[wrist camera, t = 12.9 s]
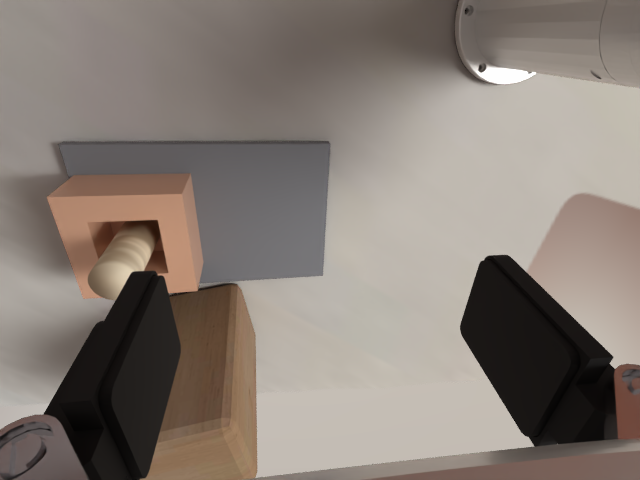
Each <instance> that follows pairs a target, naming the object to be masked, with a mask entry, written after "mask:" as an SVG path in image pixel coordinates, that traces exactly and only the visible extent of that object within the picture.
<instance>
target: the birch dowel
mask: <svg viewBox="0 0 640 480" xmlns="http://www.w3.org/2000/svg"><path fill="white" fill-rule="evenodd" d="M160 235H161V233H160V229H159V224H158V220H138V221H125V223H124V224H123V225H122V227H121V228H120V230H119V231H118V233H117V234H116V235H115V237H114V238H113V240H112V241H111V243H110V244H109V245H108V247H107V248H106V250H105V251H104V253H103V254H102V256H101V257H100V258H99V260H98V261H97V263H96V264H95V266H94V267H93V268H92V270H91V271H90V273H89V275H88V284H89V287H90V288H91V289H92V291H93V292H94V293H96V294H97V295H99V296H100V297H103V298H105V299H110V300H116V299H117V297H118V296H119V294H120V292H121V290H122V288H123V287H124V285H125V283H126V281H127V279H128V278H129V276H130V274H131V273H132V272H134V271H144V270H145V267H146V265H147V263H148V261H149V259H150V257H151V255H152V253H153V250H154V248H155V246H156V244H157V242H158V240H159V238H160Z"/></svg>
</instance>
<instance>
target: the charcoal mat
mask: <svg viewBox="0 0 640 480" xmlns="http://www.w3.org/2000/svg"><path fill="white" fill-rule="evenodd" d="M59 148H60V151H61V154H62V157H63V161H64V164H65V167H66V170H67V173H68V176H69V179H70V178H71V177H72V176H73V175H116V174H183V173H191V179H192V186H193V193H194V200H195V207H196V214H197V221H198V228H199V235H200V242H201V249H202V256H203V267H202V272H201V277H200V282H199V283H214V282H230V281H245V280H261V279H277V278H293V277H309V276H323V264H324V246H325V228H326V210H327V192H328V174H329V156H330V143H329V142H62V143H60V144H59Z"/></svg>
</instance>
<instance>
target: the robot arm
mask: <svg viewBox="0 0 640 480" xmlns="http://www.w3.org/2000/svg"><path fill="white" fill-rule="evenodd" d="M465 9H466V13H465ZM455 39H456V45H457V49H458V53H459V56H460V58H461V60H462V62H463V64H464V65H465V67H466V68H467V69H468V70H469V71H470V73H472V74H473V75H474V76H476V77H477V78H478V79H480V80H483V81H485V82H488V83H493V84H498V85H508V84H513V83H518V82H521V81H523V80H526V79H528V78H530V77H532V76H533V75H535V74H537V73H540V74H547V75H553V76H560V77H567V78H574V79H581V80H588V81H594V82H601V83H608V84H615V85H622V86H628V87H635V88H640V0H459V3H458V7H457V12H456V19H455ZM478 67H479V69H478ZM460 330H461V334H462V336H463V338H464V340H465V341H466V343H467V345H468V346H469V348H470V350H471V351H472V353H473V354H474V356H475V358H476V359H477V361H478V363H479V364H480V366H481V367H482V369H483V371H484V372H485V374H486V376H487V377H488V379H489V380H490V382H491V384H492V385H493V387H494V388H495V390H496V392H497V393H498V395H499V397H500V398H501V400H502V402H503V403H504V405H505V406H506V408H507V410H508V411H509V413H510V414H511V416H512V418H513V419H514V421H515V422H516V424H517V426H518V427H519V429H520V431H521V432H522V433H523V434H524V435H525V436H527V437H529V438H530V440H531V441H532V443H533V444H534V446H535V447H528V448H518V449H508V450H499V451H490V452H480V453H471V454H462V455H453V456H444V457H435V458H426V459H417V460H408V461H399V462H390V463H381V464H372V465H364V466H355V467H346V468H338V469H329V470H320V471H311V472H303V473H294V474H286V475H277V476H269V477H260V478H252V479H243V480H640V365H634V364H624V365H620V366H618V367H617V368H616V369H614V368H613V367H612V366H611V365H610V364H609V363H610V362H611V360H612V359H613V356H612V355H611V354H610V353H609V352H608V351H607V350H605V348H604V347H603V346H602V345H601V344H600V343H599V342H598V341H597V340H596V339H595V338H593V337H592V336H591V335H590V334H589V333H588V332H587V331H586V330H585V329H584V328H583V327H582V326H581V325H580V324H579V323H578V322H577V321H576V320H575V319H574V318H573V317H572V316H571V315H570V314H569V313H568V312H567V311H566V310H565V309H563V307H562V306H561V305H559V304H558V303H557V302H556V301H555V300H554V299H553V298H552V297H551V296H550V295H549V294H548V293H547V292H546V291H545V290H544V289H543V288H542V287H541V286H540V285H539V284H538V283H537V282H536V281H535V280H534V279H533V278H532V277H531V276H529V274H528V273H526V272H525V271H524V270H523V269H522V268H521V267H520V266H519V265H518V264H517V263H516V262H515V261H514V260H513V259H512V258H511V257H510V256H508V255H493V256H487V257H486V258H485V260H484V261H481V262H480V264H479V267H478V270H477V273H476V277H475V280H474V283H473V286H472V289H471V293H470V296H469V299H468V302H467V305H466V309H465V312H464V315H463V318H462V321H461V325H460ZM180 354H181V344H180V340H179V335H178V331H177V327H176V323H175V319H174V315H173V310H172V306H171V302H170V298H169V294H168V290H167V285H166V281H165V278H164V276H162V275H160V276H158V274H157V272H156V271H134V272H132V273H131V274H130V276H129V278H128V279H127V281H126V283H125V285H124V287H123V288H122V290H121V292H120V294H119V296H118V297H117V299H116V301H115V303H114V305H113V306H112V308H111V310H110V312H109V314H108V315H107V317H106V319H105V321H100V322H99V323H97V324H96V325H95V327H94V328H93V330H92V331H91V333H90V335H89V337H88V338H87V340H86V342H85V343H84V345H83V347H82V349H81V350H80V352H79V354H78V356H77V357H76V359H75V361H74V362H73V364H72V366H71V368H70V369H69V371H68V373H67V375H66V376H65V378H64V380H63V381H62V383H61V385H60V387H59V388H58V390H57V392H56V394H55V395H54V397H53V399H52V400H51V402H50V404H49V406H48V408H47V409H46V411H45V413H44V414H43V415H33V416H29V417H25V418H21V419H19V420H17V421H15V422H13V423H10V424H8V425H7V426H5V427H4V428H2V429H1V430H0V480H140V479H142V478H146V477H147V475H148V473H149V470H150V466H151V463H152V459H153V455H154V452H155V448H156V444H157V440H158V437H159V433H160V429H161V426H162V422H163V418H164V414H165V411H166V407H167V403H168V400H169V396H170V392H171V388H172V385H173V381H174V377H175V374H176V370H177V366H178V362H179V359H180Z"/></svg>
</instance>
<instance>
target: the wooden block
mask: <svg viewBox="0 0 640 480" xmlns="http://www.w3.org/2000/svg"><path fill="white" fill-rule="evenodd" d="M169 298H170V302H171V306H172V310H173V315H174V319H175V323H176V327H177V331H178V335H179V340H180V344H181V354H180V359H179V362H178V366H177V370H176V374H175V377H174V381H173V385H172V388H171V392H170V396H169V400H168V403H167V407H166V411H165V414H164V418H163V422H162V426H161V429H160V433H159V437H158V440H157V444H156V448H155V452H154V455H153V459H152V463H151V466H150V470H149V473H148V475H147V477H146V478H142V479H140V480H243V479H252V478H255V477H256V473H257V420H256V346H255V332H254V329H253V326H252V323H251V319H250V316H249V313H248V310H247V306H246V303H245V300H244V297H243V294H242V290H241V289H240V287H239V286H238V285H237V284H229V285H224V286H219V287H215V288H210V289H205V290H200V291H195V292H190V293H185V294H180V295H175V296H170V297H169Z"/></svg>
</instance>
